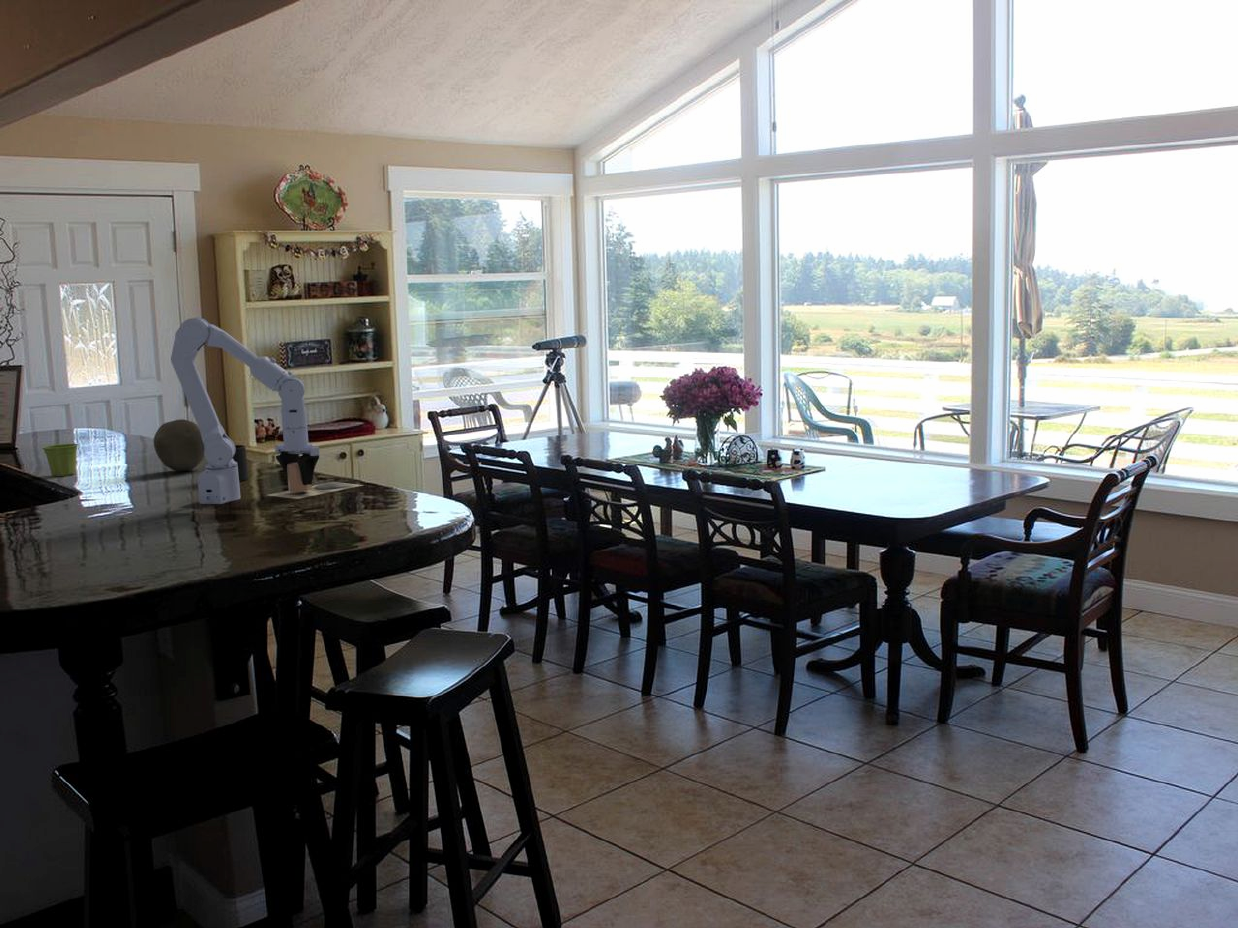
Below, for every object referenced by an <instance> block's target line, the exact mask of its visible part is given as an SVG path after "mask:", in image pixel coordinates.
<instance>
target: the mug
mask: <svg viewBox="0 0 1238 928" xmlns="http://www.w3.org/2000/svg"><path fill="white" fill-rule="evenodd" d="M235 447H236V452H235V455H234V456H233V458H232V459H233V460H234V461H235V462H237V465H238V475H239V483H240V482H245V481H247V480H249V472H248V460H247V449H246V446H245V445H242V444H241V445H240V444H235Z"/></svg>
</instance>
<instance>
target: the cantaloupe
mask: <svg viewBox="0 0 1238 928" xmlns="http://www.w3.org/2000/svg"><path fill="white" fill-rule="evenodd" d="M153 446H154V451H155V453H156V455H157V457H158V458H159V460H160V461H161V463H162V464H164V466H166V467H167V468H169V469H170V470H171V471H172V470H173V471H175V472H176V471H177V472H188V471H191V470H194V469H195V468H196V467H198V466H199V465H200V464H201V463H202V462H203V460H204V459H205V456H204V450H205V447H204V443H203V441H202V436H201V432H200V429H199V427H198V424H197V423H196V422H193V421H190V420H187V419H182V418H181V419H175V420H172V421H168V422H165V423H163V424H161V425H160V426H159V427H158V429H157V430H156V432H155V434H154V436H153Z"/></svg>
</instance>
